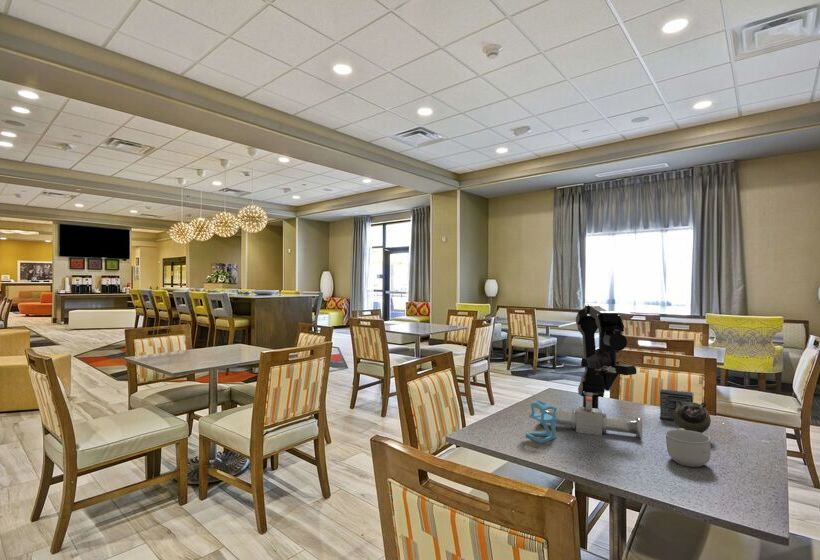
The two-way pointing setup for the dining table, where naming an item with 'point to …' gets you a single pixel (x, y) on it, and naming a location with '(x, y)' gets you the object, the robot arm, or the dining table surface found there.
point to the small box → (672, 402)
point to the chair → (543, 421)
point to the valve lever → (588, 400)
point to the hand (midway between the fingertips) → (607, 390)
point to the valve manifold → (596, 422)
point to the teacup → (688, 447)
